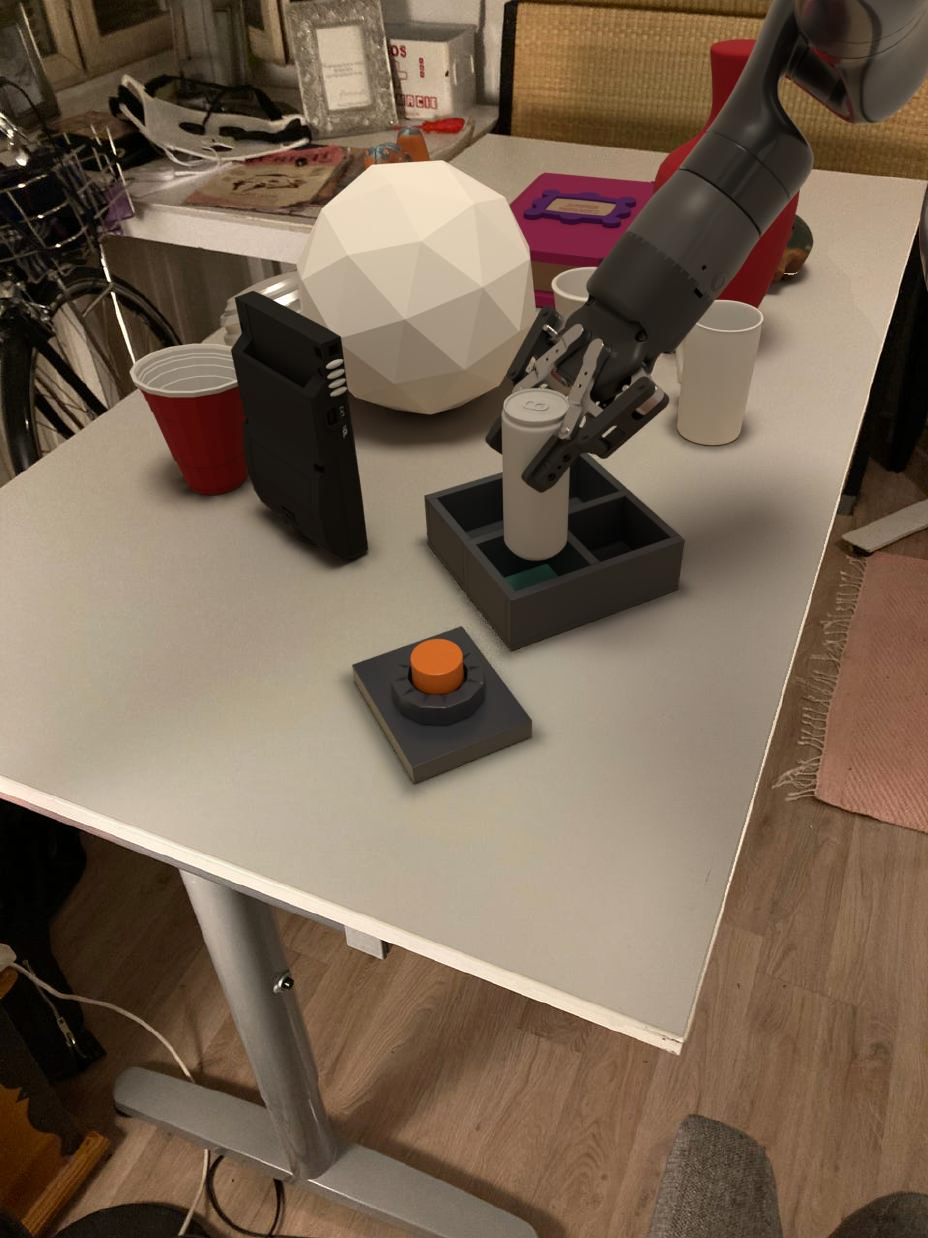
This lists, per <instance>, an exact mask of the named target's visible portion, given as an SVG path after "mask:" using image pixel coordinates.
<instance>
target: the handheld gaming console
mask: <svg viewBox="0 0 928 1238" xmlns="http://www.w3.org/2000/svg"><path fill="white" fill-rule="evenodd" d="M234 298H235V303H236V308H237V313H238V318H239V323H240V328H241V333H242V334H241V335H240V337H239V338H238V340H237V341H236V343H235V344H234V346H233V347H232V349H231V354H232V358H233V363H234V368H235V373H236V378H237V382H238V387H239V392H240V397H241V402H242V407H243V415H244V416H246V421H244V422H243V445H244V454H245V463H246V467H247V475H248V477H249V479H250V482H251V485H252V488H253V490H254V492H255V493H256V495H257V497H258V499H259V500H260V502H261V503H262V504H264V505H265V506H266V507H267V508H269V509H270V510H272V511H273V512H275V513H276V514H277V515H278V516H279V517H280V518H281V519H282V520H283V521H285V522H286V523H287V524H288V525H289V526H290V528H291V530H292V532H293V533H294V535H295V537H297V538H298V539H300V540H301V541H303V542H305V543H308V544H312V545H315V546H316V547H319V548H320V549H322V550H323V551H324V552H325V553H327V554H329V555H331V556H333V557H334V558H337V559H340V560H341V561H344V560H348V559H350V558H352V559H354V558H355V557H358V556H359V555H361V554H363V553H365V552H366V551H368V550H369V543H368V534H367V525H366V517H365V516H366V515H365V508H364V500H363V492H362V484H361V477H360V470H359V464H358V456H357V450H356V449H357V448H356V441H355V434H354V427H353V426H354V425H353V419H352V411H351V403H350V396H349V390H348V387H347V379H346V372H345V364H344V356H343V348H342V340H341V336H339V335H338V334H336V333H334V332H333V331H331V330H329V329H328V328H326V327H324V326H322V325H320V324H318V323H316V322H314V321H312V320H310V319H308V318H307V317H305V316H303V315H301V314H299V313H297V312H295V311H293V310H291V309H289V308H287V307H286V306H284V305H282V304H280V303H278V302H276V301H274V300H272V299H270V298H268V297H266V296H264V295H262V294H260V293H258V292H255V291H251V292H248V293H245V294H243V295H240V296H237V297H234Z"/></svg>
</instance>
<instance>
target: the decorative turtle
mask: <svg viewBox="0 0 928 1238" xmlns="http://www.w3.org/2000/svg"><path fill="white" fill-rule="evenodd" d="M813 235H814V234H813V232H812V230H811V228H810V226H809V225H808V223H807V222H806V221H805V220H804V219H803V218H802V217H801V216H799V215H798V214H797V213H796V214H795V218H794V222H793V226H792V229H791V232H790V236H789V239H788V242H787V245H786V248H785V251H784V253H783V256H782V258H781V261H780V264H779V266H778V269H777V271H776V273H775V275H774V278H773V280H772V282H771V284H775V283H777V282H778V281H780V280H781V279H782V278H784V280H792V279H794V278H795V277H796V276H797V274H794V275H788V274H784V273H796V272H798V271H799V272H800V270H801V269H802V268H803V266H804V264H805V263H806V261H807V259H808V258H809V256H810V254H811V252H812V249H813V246H814V236H813ZM799 272H798V273H799Z"/></svg>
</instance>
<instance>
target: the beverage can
mask: <svg viewBox="0 0 928 1238" xmlns="http://www.w3.org/2000/svg"><path fill="white" fill-rule="evenodd" d="M568 408H569V404H568V396H567V397H565V396H564V395H563V394H561V393H559V392H557V391H553V390H549V389H544V388H540V387H539V388H532V389H525V390H521V391H518V392H515V393H513V392H512V394H509V396H507V397H506V398H505V399H504V401H503V408H502V411H501V413H502V455H501V457H502V458H501V460H502V463H501V464H502V472H503V516H504V541H505V543H506V545H507V547H508V548H509V549H510V550H511V551H512V552H513V553H514V554H516V555H517V556H519V557H521V558H523V559H527V560H544V559H548V558H551V557H553V556H554V555H556V554H558V553H559V552H560V551H561V550H562V549H563V548H564V546H565V544H566V542H567V527H568V500H569V472H570V467H569V468H568V469H567V471H566V472H565V473H563V476H562V477H561V478H560V479H559V481H558V482H557V483H556V484H555V485H554V486H553V487H552V488H550V489H548V490H547V491H545V492H543V493H539V492H538V491H536V490H535V489H533V488H531V487H530V486H528V485H527V484H526V483H525V482H524V481H523V480H522V478H521V475H522V473H523V471H524V470H525V469H526V468H527V466H528V465H529V464H530V462H531V461H532V460H533V459H534V457H535V456H536V455H537V454H538V452H539V451H540V450H541V448H542V447H543V446H544V445H545V443H546V442H547V441H548V440H549V438H550V437H551V436H552V435H555V436H556V437H558V430H559V428H560V426H561V423H562V421H563V419H564V417H565V415H566V413H567V411H568Z"/></svg>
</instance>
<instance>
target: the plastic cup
mask: <svg viewBox="0 0 928 1238" xmlns="http://www.w3.org/2000/svg"><path fill="white" fill-rule="evenodd" d="M231 349H232V347H231V346H226V344H220V343H188V344H182V345H181V344H180V345H175V346H169V347H165V348H163V349H160V350H156V351H153V352H150V353H148V354H146V355H145V356H142V358H140V359H138V360H136V361H135V362H134V364H133V365H132V367H131V368H130V370H129V374H130V377H131V380H132V382H133V384H134V385H135V387H137V389H138V390H140V392H141V394H142V395H143V397H144V400H145V402H146V403H147V405H148V407H149V410H150V412H151V413H152V414H153V416H154V419H155V420H156V423H157V425H158V427H159V429H160V432H161V434H162V436H163V438H164V440H165V444H166V445H167V447H168V449H169V452H170V454H171V457H172V458H173V460H174V462H176V465H177V467H178V468H179V469H178V470H179V471H180V473H181V475H182V477H183V480H184V483H185V484H187V486H188V488H189V489H190V490H191V491H193V492H195V493H197V494H201V495H206V496H209V495H221V494H225V493H228V492H231V491H233V490H235V489H237V488H239V487H240V486H242V484H243V483H244V482H245V481H246V480H247V479H246V478H247V475H248V470H247V467H246V463H245V454H244V445H243V422H244V421H246V416H244V415H243V407H242V402H241V397H240V392H239V387H238V382H237V378H236V373H235V368H234V363H233V358H232V354H231Z"/></svg>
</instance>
